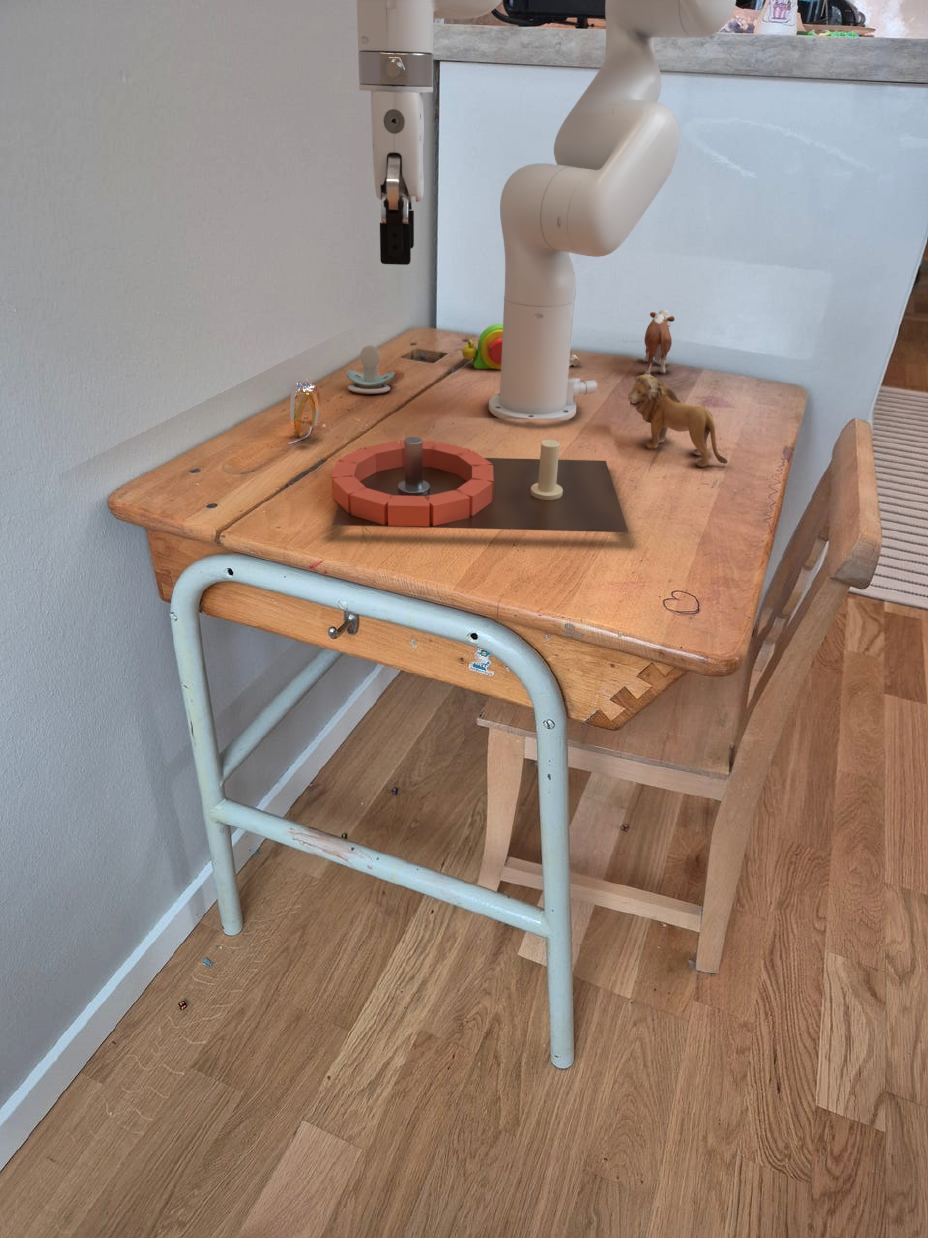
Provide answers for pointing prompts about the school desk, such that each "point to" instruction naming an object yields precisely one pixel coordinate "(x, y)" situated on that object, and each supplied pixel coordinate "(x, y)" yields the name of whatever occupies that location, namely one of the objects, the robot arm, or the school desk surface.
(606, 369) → the school desk surface
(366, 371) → the pacifier
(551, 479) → the cream post
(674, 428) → the lion figurine
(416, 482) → the steel post
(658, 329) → the bull figurine
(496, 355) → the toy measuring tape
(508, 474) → the board
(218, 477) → the school desk surface
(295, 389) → the ring
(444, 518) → the ring
